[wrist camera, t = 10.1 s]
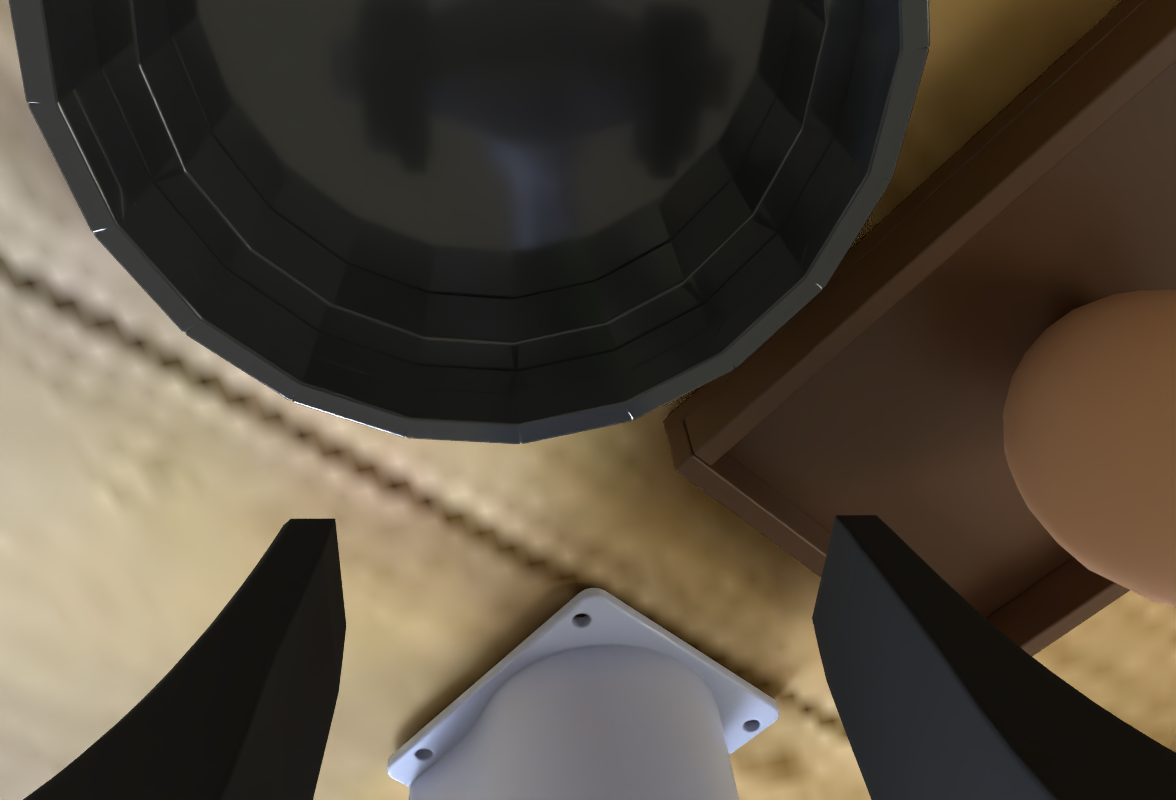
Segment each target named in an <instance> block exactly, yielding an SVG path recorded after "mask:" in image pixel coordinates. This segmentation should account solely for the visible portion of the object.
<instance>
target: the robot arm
mask: <svg viewBox="0 0 1176 800" xmlns="http://www.w3.org/2000/svg"><path fill="white" fill-rule="evenodd" d="M577 614H586V616H584V617H576V616H575V615H577ZM812 619H813V624H814V628H815V633H816V638H817V642H818V647H819V651H820V655H821V659H822V663H823V668H824V672H825V676H826V680H827V683H828V685H829V688H830V691H831V694H832V697H833V699H834V702H835V705H836V707H837V710H838V713H839V715H840V718H841V721H842V723H843V726H844V729H845V731H846V734H847V737H848V739H849V742H850V744H851V747H852V750H853V752H854V755H855V757H856V760H857V763H858V765H859V768H860V770H861V773H862V776H863V778H864V781H865V784H866V786H867V789H868V791H869V794H870V797H871V799H872V800H1176V753H1175V752H1173V751H1172V750H1170V749H1168V748H1166V747H1165V746H1163V745H1161V744H1160V743H1158V742H1156V741H1155V740H1153V739H1151V738H1150V737H1148V736H1146V735H1145V734H1143V733H1142V732H1140V731H1138V730H1137V729H1135V728H1133V727H1132V726H1130V725H1129V724H1127V723H1125V722H1124V721H1122V720H1120V719H1119V718H1117V717H1116V716H1114V715H1113V714H1111V713H1110V712H1108V711H1107V710H1105V709H1104V708H1102V707H1100V706H1099V705H1097V704H1096V703H1094V702H1093V701H1092V700H1090V699H1089V698H1087V697H1086V696H1085V695H1083V694H1082V693H1080V692H1079V691H1078V690H1076V689H1075V688H1073V687H1072V686H1071V685H1069V684H1068V683H1066V682H1065V681H1064V680H1062V679H1061V678H1059V677H1058V676H1057V675H1055V674H1054V673H1052V672H1051V671H1050V670H1048V669H1047V668H1046V667H1045V666H1043V665H1042V664H1041V663H1039V662H1038V661H1037V660H1035V659H1034V658H1033V657H1032V656H1030V655H1029V654H1028V653H1027V652H1026V651H1024V650H1023V649H1022V648H1021V647H1019V646H1018V645H1017V644H1016V643H1015V642H1013V641H1012V640H1011V639H1010V638H1008V637H1007V636H1006V635H1005V634H1004V633H1002V632H1001V631H1000V630H999V629H998V628H996V627H995V626H994V625H993V624H992V623H991V622H990V621H988V620H987V619H986V618H985V617H984V616H983V615H982V614H980V613H979V612H978V611H977V610H976V609H975V608H974V607H973V606H972V605H970V604H969V603H968V602H967V601H966V600H965V599H964V598H963V597H962V596H961V595H959V594H958V593H957V592H956V591H955V590H954V589H953V588H952V587H951V586H950V585H949V584H948V583H947V582H946V581H945V580H943V579H942V578H941V577H940V576H939V575H938V574H937V573H936V572H935V571H934V570H933V569H932V568H931V567H930V566H929V565H928V564H927V563H926V562H925V561H924V560H923V559H922V558H921V557H920V556H919V555H917V554H916V553H915V552H914V551H913V550H912V549H911V548H910V547H909V546H908V545H907V544H906V543H905V542H904V541H903V540H902V539H901V538H900V537H899V536H898V535H897V534H896V533H895V532H894V531H893V530H892V529H891V528H890V527H889V526H888V525H887V524H885V523H884V522H883V521H882V520H881V519H880V518H879V517H878V516H877V515H836V516H835V521H834V525H833V529H832V534H831V538H830V542H829V547H828V551H827V556H826V560H825V564H824V569H823V573H822V577H821V582H820V586H819V590H818V595H817V599H816V604H815V608H814V612H813V617H812ZM345 631H346V619H345V609H344V600H343V590H342V581H341V571H340V561H339V552H338V542H337V533H336V523H335V519H290V520H289V521H288V522H287V523H286V524H285V525H283V527H282V528H281V530H280V532H279V533H278V535H277V536H276V538H275V539H274V541H273V542H272V544H271V545H270V547H269V548H268V550H267V551H266V552H265V554H264V555H263V557H262V558H261V560H260V561H259V562H258V564H257V565H256V567H255V568H254V569H253V571H252V572H251V574H250V575H249V576H248V578H247V579H246V580H245V582H244V583H243V584H242V586H241V587H240V588H239V590H238V591H237V592H236V593H235V595H234V596H233V597H232V599H231V600H230V601H229V602H228V604H227V605H226V606H225V607H224V609H223V610H222V611H221V613H220V614H219V615H218V616H217V618H216V619H215V620H214V621H213V623H212V624H211V625H210V626H209V627H208V629H207V630H206V631H205V632H204V633H203V634H202V636H201V637H200V638H199V639H198V640H197V641H196V642H195V644H194V645H193V646H192V647H191V648H190V649H189V650H188V651H187V653H186V654H185V655H184V656H183V657H182V658H181V659H180V660H179V662H178V663H177V664H176V665H175V666H174V667H173V668H172V669H171V671H170V672H169V673H168V674H167V675H166V676H165V677H164V678H163V679H162V680H161V681H160V682H159V683H158V684H157V685H156V686H155V687H154V688H153V689H152V690H151V691H150V692H149V693H148V694H147V695H146V696H145V697H144V698H143V699H142V700H141V701H140V702H139V703H138V704H137V705H136V706H135V707H134V708H133V709H132V710H131V711H130V712H129V713H128V714H127V715H125V716H124V717H123V718H122V719H121V720H120V721H119V722H118V723H117V724H116V725H115V726H114V727H112V728H111V729H110V730H109V731H108V732H107V733H106V734H104V735H103V736H102V737H101V738H100V739H99V740H97V741H96V742H95V743H94V744H93V745H92V746H91V747H89V748H88V749H87V750H86V751H85V752H84V753H83V754H81V755H80V756H79V757H78V758H77V759H75V760H74V761H73V762H72V763H71V764H69V765H68V766H67V767H66V768H64V769H63V770H62V771H61V772H59V773H58V774H57V775H56V776H54V777H53V778H52V779H51V780H49V781H48V782H46V783H45V784H44V785H42V786H41V787H40V788H38V789H37V790H36V791H34V792H33V793H32V794H30V795H29V796H27V797H26V798H25V799H23V800H313V797H314V793H315V789H316V785H317V780H318V776H319V772H320V768H321V764H322V760H323V755H324V751H325V747H326V743H327V739H328V735H329V730H330V726H331V722H332V718H333V713H334V709H335V705H336V700H337V696H338V692H339V684H340V676H341V667H342V659H343V650H344V641H345ZM779 714H780V713H779V709H778V705H777V702H776V701H775V700H774V699H773V698H772V697H770V696H768V695H767V694H765V693H764V692H762V691H761V690H759V689H758V688H756V687H754V686H753V685H751V684H750V683H748V682H747V681H745V680H744V679H742V678H740V677H739V676H737V675H736V674H734V673H733V672H731V671H729V670H728V669H726V668H725V667H723V666H722V665H720V664H719V663H717V662H715V661H714V660H712V659H711V658H709V657H708V656H706V655H705V654H703V653H701V652H700V651H698V650H697V649H695V648H694V647H692V646H690V645H689V644H687V643H686V642H684V641H683V640H681V639H680V638H678V637H676V636H675V635H673V634H672V633H670V632H669V631H667V630H666V629H664V628H662V627H661V626H659V625H658V624H656V623H655V622H653V621H651V620H650V619H648V618H647V617H645V616H644V615H642V614H641V613H639V612H637V611H636V610H634V609H633V608H631V607H630V606H628V605H627V604H625V603H623V602H622V601H620V600H619V599H617V598H616V597H614V596H613V595H611V594H609V593H608V592H606V591H605V590H602V589H600V588H589V589H585V590H583V591H581V592H580V593H578V594H577V595H576V596H575V597H574V598H573V599H572V600H570V601H569V602H568V603H567V604H566V605H565V606H563V607H562V608H561V609H560V610H559V611H558V612H556V613H555V614H554V615H553V616H552V617H551V618H550V619H548V620H547V621H546V622H545V623H544V624H543V625H541V626H540V627H539V628H538V629H537V630H536V631H534V632H533V633H532V634H531V635H530V636H529V637H528V638H526V639H525V640H524V641H523V642H522V643H521V644H519V645H518V646H517V647H516V648H515V649H514V650H513V651H511V652H510V653H509V654H508V655H507V656H506V657H504V658H503V659H502V660H501V661H500V662H499V663H497V664H496V665H495V666H494V667H493V668H492V669H491V670H489V671H488V672H487V673H486V674H485V675H484V676H482V677H481V678H480V679H479V680H478V681H477V682H476V683H474V684H473V685H472V686H471V687H470V688H469V689H467V690H466V691H465V692H464V693H463V694H462V695H460V696H459V697H458V698H457V699H456V700H455V701H454V702H452V703H451V704H450V705H449V706H448V707H447V708H445V709H444V710H443V711H442V712H441V713H440V714H438V715H437V716H436V717H435V718H434V719H433V720H432V721H430V722H429V723H428V724H427V725H426V726H425V727H423V728H422V729H421V730H420V731H419V732H418V733H417V734H415V735H414V736H413V737H412V738H411V739H410V740H408V741H407V742H406V743H405V744H404V745H403V746H401V747H400V748H399V749H398V750H397V751H396V752H395V753H393V754H392V755H391V756H390V758H389V759H388V766H387V773H388V774H389V776H390V777H392V778H393V779H395V780H397V781H399V782H401V783H403V784H405V785H407V786H409V787H410V790H409V800H739V797H738V792H737V788H736V783H735V779H734V775H733V770H732V766H731V762H730V757H729V755H730V754H731V753H733V752H734V751H735V750H737V749H738V748H740V747H741V746H742V745H744V744H745V743H746V742H748V741H749V740H751V739H752V738H753V737H755V736H756V735H757V734H759V733H760V732H762V731H763V730H764V729H766V728H767V727H768V726H770V725H771V724H773V723H774V722H775V721H776V720H777V719H778V717H779ZM748 720H751V721H748ZM424 748H426V749H424Z"/></svg>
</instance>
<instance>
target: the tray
mask: <svg viewBox="0 0 1176 800" xmlns="http://www.w3.org/2000/svg"><path fill="white" fill-rule="evenodd" d="M1141 290H1176V0H1124V1H1122V2H1121V3H1120V4H1119V5H1118V6H1117V7H1116V8H1115V9H1114V10H1113V11H1111V12H1110V13H1109V14H1108V15H1107V16H1106V17H1105V18H1104V19H1103V20H1102V21H1101V22H1099V23H1098V24H1097V25H1096V26H1095V27H1094V28H1093V29H1092V30H1091V31H1090V32H1088V33H1087V34H1086V35H1085V36H1084V37H1083V38H1082V39H1081V40H1080V41H1079V42H1078V43H1076V44H1075V45H1074V46H1073V47H1072V48H1071V49H1070V50H1069V51H1068V52H1067V53H1065V54H1064V55H1063V56H1062V57H1061V58H1060V59H1059V60H1058V61H1057V62H1056V63H1055V64H1053V65H1052V66H1051V67H1050V68H1049V69H1048V70H1047V71H1046V72H1045V73H1044V74H1042V75H1041V76H1040V77H1039V78H1038V79H1037V80H1036V81H1035V82H1034V83H1033V84H1032V85H1030V86H1029V87H1028V88H1027V89H1026V90H1025V91H1024V92H1023V93H1022V94H1021V95H1019V96H1018V97H1017V98H1016V99H1015V100H1014V101H1013V102H1012V103H1011V104H1010V105H1009V106H1007V107H1006V108H1005V109H1004V110H1003V111H1002V112H1001V113H1000V114H999V115H998V116H997V117H995V118H994V119H993V120H992V121H991V122H990V123H989V124H988V125H987V126H986V127H984V128H983V129H982V130H981V131H980V132H979V133H978V134H977V135H976V136H975V137H974V138H972V139H971V140H970V141H969V142H968V143H967V144H966V145H965V146H964V147H963V148H961V149H960V150H959V151H958V152H957V153H956V154H955V155H954V156H953V157H952V158H951V159H949V160H948V161H947V162H946V163H945V164H944V165H943V166H942V167H941V168H940V169H938V170H937V171H936V172H935V173H934V174H933V175H932V176H931V177H930V178H929V179H928V180H926V181H925V182H924V183H923V184H922V185H921V186H920V187H919V188H918V189H917V190H915V191H914V192H913V193H912V194H911V195H910V196H909V197H908V198H907V199H906V200H905V201H903V202H902V203H901V204H900V205H899V206H898V207H897V208H896V209H895V210H894V211H892V212H891V213H890V214H889V215H888V216H887V217H886V218H885V219H884V220H883V221H882V222H880V223H879V224H878V225H877V226H876V227H875V228H874V229H873V230H872V231H871V232H870V233H868V234H867V235H866V236H865V237H864V238H863V239H862V240H861V241H860V242H859V243H857V244H856V245H855V246H854V247H853V248H852V249H851V250H850V251H849V252H848V253H847V254H846V255H845V257H844V258H843V260H842V261H841V263H840V265H839V266H838V268H837V269H836V271H835V273H834V274H833V276H832V277H831V279H830V281H829V282H828V284H827V285H826V286H825V287H823V290H822V291H821V292H820V293H819V294H818V295H816V296H815V297H814V298H813V299H812V300H811V301H810V302H809V303H808V304H807V305H805V306H804V307H803V308H802V309H801V310H800V311H799V312H798V313H797V314H796V315H794V316H793V317H792V318H791V319H790V320H789V321H788V322H787V323H786V324H785V325H783V326H782V327H781V328H780V329H779V330H778V331H777V332H776V333H775V334H773V335H772V336H771V337H770V338H769V339H768V340H767V341H766V342H765V343H764V344H762V345H761V346H760V347H759V348H758V349H757V350H756V351H755V352H754V353H753V354H751V355H750V356H749V357H748V358H747V359H746V360H745V361H744V362H743V363H741V364H740V365H739V366H738V367H734V370H732V371H730V372H728V373H726V374H724V375H722V376H720V377H718V378H716V379H715V380H713V381H711V382H709V383H707V384H705V385H703V386H701V387H700V388H699V389H698V390H697V391H695V392H694V393H693V394H692V395H691V396H690V397H689V398H688V399H687V400H686V401H684V402H683V403H682V404H681V405H680V406H679V407H678V408H677V409H676V410H675V411H674V412H672V413H671V414H670V415H669V416H668V417H667V418H666V419H665V420H664V421H663V423H664V427H665V431H666V434H667V438H668V442H669V446H670V450H671V454H672V458H673V462H674V466H675V469H676V471H677V472H679V473H680V474H682V475H683V476H684V477H686V478H687V479H688V480H690V481H691V482H692V483H694V484H695V485H696V486H698V487H699V488H701V489H702V490H703V491H705V492H706V493H707V494H709V495H710V496H711V497H713V498H714V499H715V500H717V501H718V502H720V503H721V504H722V505H724V506H725V507H726V508H728V509H729V510H730V511H732V512H733V513H735V514H736V515H737V516H739V517H740V518H741V519H743V520H744V521H745V522H747V523H748V524H749V525H751V526H752V527H754V528H755V529H756V530H758V531H759V532H760V533H762V534H763V535H764V536H766V537H767V538H768V539H770V540H771V541H773V542H774V543H775V544H777V545H778V546H779V547H781V548H782V549H783V550H785V551H786V552H788V553H789V554H790V555H792V556H793V557H794V558H796V559H797V560H798V561H800V562H801V563H802V564H804V565H805V566H807V567H808V568H809V569H811V570H812V571H813V572H815V573H816V574H817V575H819V576H820V577H822V573H823V569H824V564H825V560H826V556H827V551H828V547H829V542H830V538H831V534H832V529H833V525H834V521H835V516H836V515H877V516H878V517H879V518H880V519H881V520H882V521H883V522H884V523H885V524H887V525H888V526H889V527H890V528H891V529H892V530H893V531H894V532H895V533H896V534H897V535H898V536H899V537H900V538H901V539H902V540H903V541H904V542H905V543H906V544H907V545H908V546H909V547H910V548H911V549H912V550H913V551H914V552H915V553H916V554H917V555H919V556H920V557H921V558H922V559H923V560H924V561H925V562H926V563H927V564H928V565H929V566H930V567H931V568H932V569H933V570H934V571H935V572H936V573H937V574H938V575H939V576H940V577H941V578H942V579H943V580H945V581H946V582H947V583H948V584H949V585H950V586H951V587H952V588H953V589H954V590H955V591H956V592H957V593H958V594H959V595H961V596H962V597H963V598H964V599H965V600H966V601H967V602H968V603H969V604H970V605H972V606H973V607H974V608H975V609H976V610H977V611H978V612H979V613H980V614H982V615H983V616H984V617H985V618H986V619H987V620H988V621H990V622H991V623H992V624H993V625H994V626H995V627H996V628H998V629H999V630H1000V631H1001V632H1002V633H1004V634H1005V635H1006V636H1007V637H1008V638H1010V639H1011V640H1012V641H1013V642H1015V643H1016V644H1017V645H1018V646H1019V647H1021V648H1022V649H1023V650H1024V651H1026V652H1027V653H1028V654H1029V655H1030V656H1033V655H1035V654H1036V653H1038V652H1039V651H1041V650H1042V649H1044V648H1045V647H1047V646H1048V645H1050V644H1051V643H1053V642H1054V641H1056V640H1057V639H1059V638H1060V637H1062V636H1063V635H1065V634H1066V633H1068V632H1069V631H1071V630H1072V629H1073V628H1075V627H1076V626H1078V625H1079V624H1081V623H1082V622H1084V621H1085V620H1087V619H1088V618H1090V617H1091V616H1093V615H1094V614H1096V613H1097V612H1099V611H1100V610H1102V609H1103V608H1105V607H1106V606H1108V605H1109V604H1111V603H1112V602H1113V601H1115V600H1116V599H1118V598H1119V597H1121V596H1122V595H1124V594H1125V593H1127V592H1128V591H1130V590H1129V589H1127V588H1125V587H1123V586H1121V585H1119V584H1117V583H1115V582H1113V581H1111V580H1109V579H1107V578H1105V577H1103V576H1101V575H1099V574H1096V573H1094V572H1092V571H1090V570H1088V569H1087V568H1086V567H1085V566H1084V565H1082V564H1081V563H1080V562H1079V561H1078V560H1077V559H1075V558H1074V557H1073V556H1072V555H1071V554H1070V553H1068V552H1067V551H1066V550H1065V549H1064V548H1063V547H1061V546H1060V545H1059V544H1058V543H1057V542H1056V541H1055V539H1054V538H1053V537H1052V536H1051V535H1050V533H1049V532H1048V531H1047V530H1046V529H1045V528H1044V526H1043V525H1042V524H1041V523H1040V522H1039V520H1038V519H1037V518H1036V517H1035V516H1034V514H1033V513H1032V512H1031V511H1030V510H1029V509H1028V507H1027V505H1026V503H1025V501H1024V499H1023V497H1022V495H1021V493H1020V492H1019V490H1018V487H1017V485H1016V483H1015V480H1014V478H1013V476H1012V473H1011V471H1010V468H1009V466H1008V462H1007V459H1006V455H1005V451H1004V427H1003V410H1004V406H1005V402H1006V398H1007V394H1008V390H1009V386H1010V382H1011V378H1012V376H1013V374H1014V372H1015V370H1016V369H1017V367H1018V365H1019V363H1020V361H1021V359H1022V357H1023V356H1024V354H1025V352H1026V351H1027V350H1028V349H1029V348H1030V347H1031V345H1032V344H1033V343H1034V342H1035V341H1036V340H1037V339H1038V337H1039V336H1040V335H1041V334H1042V333H1043V332H1044V331H1045V329H1047V328H1048V327H1049V326H1051V325H1052V324H1054V323H1055V322H1056V321H1058V320H1059V319H1061V318H1062V317H1063V316H1065V315H1066V314H1068V313H1069V312H1070V311H1072V310H1073V309H1076V308H1078V307H1081V306H1084V305H1086V304H1089V303H1091V302H1094V301H1097V300H1099V299H1102V298H1105V297H1108V296H1111V295H1114V294H1120V293H1127V292H1133V291H1141Z"/></svg>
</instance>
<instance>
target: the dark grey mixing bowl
mask: <svg viewBox="0 0 1176 800" xmlns="http://www.w3.org/2000/svg"><path fill="white" fill-rule="evenodd" d="M9 5H10V11H11V17H12V22H13V28H14V34H15V40H16V45H17V51H18V57H19V62H20V68H21V74H22V80H23V85H24V91H25V97H26V101H27V102H28V103H29V104H28V106H29V109H30V111H31V113H32V115H33V117H34V119H35V121H36V123H37V125H38V126H39V128H40V130H41V132H42V134H43V136H44V138H45V140H46V142H47V144H48V146H49V148H50V150H51V152H52V154H53V156H54V158H55V160H56V162H57V164H58V166H59V168H60V170H61V172H62V174H63V176H64V178H65V180H66V182H67V184H68V186H69V188H70V190H71V192H72V194H73V196H74V198H75V200H76V202H77V204H78V206H79V208H80V210H81V212H82V214H83V216H84V218H85V220H86V222H87V224H88V226H89V228H90V230H91V231H92V232H95V233H94V235H95V237H96V238H97V239H98V240H99V241H100V242H101V243H102V245H103V246H104V247H105V248H106V249H107V250H108V251H109V252H110V253H111V254H112V255H113V257H114V258H115V259H116V260H117V261H118V262H119V263H120V264H121V265H122V266H123V267H124V269H125V270H126V271H127V272H128V273H129V274H130V275H131V276H132V277H133V278H134V279H135V281H136V282H137V283H138V284H139V285H140V286H141V287H142V288H143V289H144V290H145V291H146V293H147V294H148V295H149V296H150V297H151V298H152V299H153V300H154V301H155V302H156V303H157V305H158V306H159V307H160V308H161V309H162V310H163V311H164V312H165V313H166V314H167V315H168V317H169V318H170V319H171V320H172V321H173V322H174V323H175V324H176V325H177V326H178V327H179V329H180V330H181V331H182V332H186V335H187V336H189V337H190V338H192V339H193V340H195V341H197V342H198V343H200V344H201V345H203V346H204V347H206V348H208V349H209V350H211V351H212V352H214V353H215V354H217V355H219V356H220V357H222V358H223V359H225V360H226V361H228V362H230V363H231V364H233V365H234V366H236V367H237V368H239V369H241V370H242V371H244V372H245V373H247V374H248V375H250V376H252V377H253V378H255V379H256V380H258V381H259V382H261V383H263V384H264V385H266V386H267V387H269V388H270V389H272V390H274V391H275V392H277V393H278V394H280V395H281V396H283V397H285V398H286V399H288V400H292V401H293V402H294V403H297V404H300V405H303V406H306V407H309V408H313V409H316V410H319V411H322V412H325V413H328V414H331V415H334V416H338V417H341V418H344V419H347V420H350V421H353V422H356V423H359V424H363V425H366V426H369V427H372V428H375V429H378V430H381V431H385V432H388V433H391V434H394V435H397V436H400V437H405V436H406V437H407V438H413V439H432V440H451V441H470V442H489V443H507V444H520V442H521V443H523V444H524V443H529V442H534V441H539V440H543V439H548V438H553V437H558V436H563V435H567V434H572V433H577V432H582V431H587V430H591V429H596V428H601V427H606V426H611V425H615V424H620V423H625V422H630V421H631V420H632V419H633V420H635V419H637V418H639V417H641V416H643V415H645V414H647V413H649V412H651V411H653V410H655V409H657V408H659V407H661V406H663V405H665V404H667V403H669V402H671V401H673V400H675V399H677V398H679V397H681V396H683V395H685V394H687V393H689V392H691V391H693V390H695V389H697V388H699V387H701V386H703V385H705V384H707V383H709V382H711V381H713V380H715V379H716V378H718V377H720V376H722V375H724V374H726V373H728V372H730V371H732V370H734V367H738V366H739V365H740V364H741V363H743V362H744V361H745V360H746V359H747V358H748V357H749V356H750V355H751V354H753V353H754V352H755V351H756V350H757V349H758V348H759V347H760V346H761V345H762V344H764V343H765V342H766V341H767V340H768V339H769V338H770V337H771V336H772V335H773V334H775V333H776V332H777V331H778V330H779V329H780V328H781V327H782V326H783V325H785V324H786V323H787V322H788V321H789V320H790V319H791V318H792V317H793V316H794V315H796V314H797V313H798V312H799V311H800V310H801V309H802V308H803V307H804V306H805V305H807V304H808V303H809V302H810V301H811V300H812V299H813V298H814V297H815V296H816V295H818V294H819V293H820V292H821V291H822V290H823V287H825V286H826V285H827V284H828V282H829V281H830V279H831V277H832V276H833V274H834V273H835V271H836V269H837V268H838V266H839V265H840V263H841V261H842V260H843V258H844V257H845V255H846V253H847V252H848V250H849V249H850V247H851V245H852V244H853V242H854V241H855V239H856V237H857V236H858V234H859V233H860V231H861V229H862V228H863V226H864V225H865V223H866V221H867V220H868V218H869V217H870V215H871V213H872V212H873V210H874V209H875V207H876V205H877V204H878V202H879V201H880V199H881V197H882V196H883V194H884V193H885V191H886V190H887V188H888V186H889V185H890V183H891V179H892V178H893V175H894V172H895V168H896V165H897V161H898V158H899V154H900V151H901V147H902V144H903V140H904V137H905V133H906V130H907V126H908V123H909V119H910V116H911V112H912V108H913V105H914V101H915V98H916V94H917V91H918V87H919V84H920V80H921V77H922V73H923V70H924V66H925V63H926V59H927V56H928V52H929V48H928V47H929V45H930V21H929V0H9Z"/></svg>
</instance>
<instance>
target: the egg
mask: <svg viewBox="0 0 1176 800" xmlns="http://www.w3.org/2000/svg"><path fill="white" fill-rule="evenodd" d="M1003 427H1004V451H1005V455H1006V459H1007V462H1008V466H1009V468H1010V471H1011V473H1012V476H1013V478H1014V480H1015V483H1016V485H1017V487H1018V490H1019V492H1020V493H1021V495H1022V497H1023V499H1024V501H1025V503H1026V505H1027V507H1028V509H1029V510H1030V511H1031V512H1032V513H1033V514H1034V516H1035V517H1036V518H1037V519H1038V520H1039V522H1040V523H1041V524H1042V525H1043V526H1044V528H1045V529H1046V530H1047V531H1048V532H1049V533H1050V535H1051V536H1052V537H1053V538H1054V539H1055V541H1056V542H1057V543H1058V544H1059V545H1060V546H1061V547H1063V548H1064V549H1065V550H1066V551H1067V552H1068V553H1070V554H1071V555H1072V556H1073V557H1074V558H1075V559H1077V560H1078V561H1079V562H1080V563H1081V564H1082V565H1084V566H1085V567H1086V568H1087V569H1088V570H1090V571H1092V572H1094V573H1096V574H1099V575H1101V576H1103V577H1105V578H1107V579H1109V580H1111V581H1113V582H1115V583H1117V584H1119V585H1121V586H1123V587H1125V588H1127V589H1129V590H1131V591H1133V592H1135V593H1137V594H1139V595H1141V596H1144V597H1146V598H1148V599H1150V600H1152V601H1155V602H1159V603H1162V604H1166V605H1170V606H1174V607H1176V290H1141V291H1133V292H1127V293H1120V294H1114V295H1111V296H1108V297H1105V298H1102V299H1099V300H1097V301H1094V302H1091V303H1089V304H1086V305H1084V306H1081V307H1078V308H1076V309H1073V310H1072V311H1070V312H1069V313H1068V314H1066V315H1065V316H1063V317H1062V318H1061V319H1059V320H1058V321H1056V322H1055V323H1054V324H1052V325H1051V326H1049V327H1048V328H1047V329H1045V331H1044V332H1043V333H1042V334H1041V335H1040V336H1039V337H1038V339H1037V340H1036V341H1035V342H1034V343H1033V344H1032V345H1031V347H1030V348H1029V349H1028V350H1027V351H1026V352H1025V354H1024V356H1023V357H1022V359H1021V361H1020V363H1019V365H1018V367H1017V369H1016V370H1015V372H1014V374H1013V376H1012V378H1011V382H1010V386H1009V390H1008V394H1007V398H1006V402H1005V406H1004V410H1003Z"/></svg>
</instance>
